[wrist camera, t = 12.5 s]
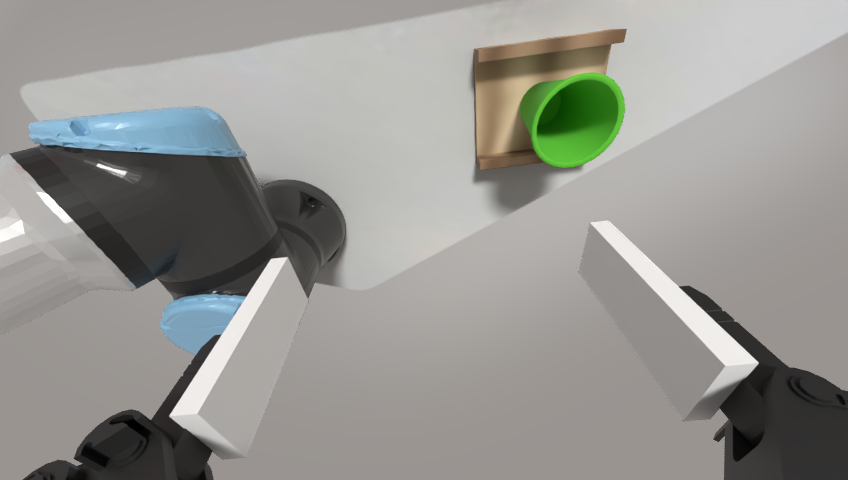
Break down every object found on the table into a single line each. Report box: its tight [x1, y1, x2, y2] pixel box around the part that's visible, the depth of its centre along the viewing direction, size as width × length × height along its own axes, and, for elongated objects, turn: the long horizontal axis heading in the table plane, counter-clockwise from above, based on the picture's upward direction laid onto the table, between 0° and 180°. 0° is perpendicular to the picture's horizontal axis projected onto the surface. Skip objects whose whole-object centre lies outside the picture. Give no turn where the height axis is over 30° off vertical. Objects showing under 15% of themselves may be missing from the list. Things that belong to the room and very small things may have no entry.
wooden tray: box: [474, 29, 627, 170], centre depth 38 cm, size 16×14×3 cm
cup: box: [520, 72, 625, 168], centre depth 34 cm, size 9×9×11 cm
